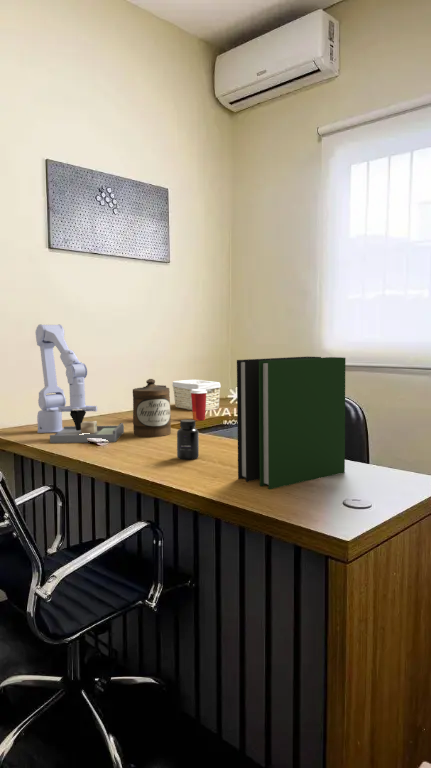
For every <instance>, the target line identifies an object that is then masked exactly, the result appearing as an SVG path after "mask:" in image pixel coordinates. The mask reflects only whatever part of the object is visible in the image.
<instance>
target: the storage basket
mask: <svg viewBox="0 0 431 768" xmlns="http://www.w3.org/2000/svg"><path fill="white" fill-rule="evenodd" d="M171 385H172V388H173V395H174V396H173V397H174V406H175V408H178V409H179V408H180V409H184V410H189V411H192V399H191V393H190V392H191V390H193V389H206V392H207V393H206V411H213V410H218V409H219V408H220V396H221V395H220V390H221V387H222V386H221V382H218V381H210V380H205V379H195V378H194V379H186V380H184V379H183V380H173V381H172V384H171Z"/></svg>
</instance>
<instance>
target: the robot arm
mask: <svg viewBox="0 0 431 768" xmlns="http://www.w3.org/2000/svg"><path fill="white" fill-rule="evenodd" d="M35 339H36V345H37V346H38V347H39V349H40V350H39V351H40V359H41V367H42V374H43V375H42V376H43V384H44V386H43V388H41V390H40V391H39V392H38V400H37V401H38V407H39V408H40V409H41V410H39V411H38V412H37V417H36V418H37V434H38V433H39V434H41V433H42V434H44V433H46V434H47V433H49V434H50V433H51V434H52V433H53V434H56V433H58V432H60V431H61V430H63V429H64V427H63V412H64V413H67V412H69V416H70V417H71V418H72V421H73V424H74V426H75V427H76V431H78V430H81V423H82V422H84V417H86V416H85V415H86V414H87V412H97V411H98V406H97V405H86V391H85V389H86V387H85V386H86V385H85V378H87V375H88V368H87V365H86V364H85V363H83V362H82V361H80V360H79V358H78V357H77V354H75V352H74V350H72V349H69V348H70V347H69V346H68V343H67V341H66V339H65V329H64V327H63V325H62V324H38V325H37V326H36V329H35ZM55 347H56V349H57V350H58V352H59V353H60V354H59V358H60V361H61V362H62V364H63V365H64V367H65V376H66V378H67V384H68V386H69V390H68V391H69V406H66V404H67V400H66V399H67V398H66V396H65V392H64V389H62V387H60V386H58V379H57V371H56V364H55V355H54V353H55V352H54V348H55Z"/></svg>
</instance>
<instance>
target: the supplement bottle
mask: <svg viewBox="0 0 431 768" xmlns="http://www.w3.org/2000/svg"><path fill="white" fill-rule="evenodd" d="M179 422H180V423H179V427H180V428H178V430H177V432H176V457H177V458H178V459H179V460H183V461H191V460H197V459H198V458H199V447H200V446H199V438H200V437H199V435H200V434H199V430H198V429H197V428H196V425H197V424H196V421H195V420H193V419H181V420H180V421H179Z"/></svg>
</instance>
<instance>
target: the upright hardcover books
mask: <svg viewBox="0 0 431 768" xmlns="http://www.w3.org/2000/svg"><path fill="white" fill-rule="evenodd" d="M236 400H237V401H236V402H237V403H236V405H237V407H236V408H237V409H236V411H237V413H236V414H237V418H236V419H237V479H238V480H240V479H245V482H246V483H247V482H252V481H253V482H254V481H256V480H257V481H258V480H259V487H264V486H268V490H273V489H277V488H281V487H282V488H283V487H285V486H290V485H294V484H295V485H296V484H299V483H304V482H309V481H314V480H317V479H318V480H319V479H321V478H326V477H331V476H336V475H340V474H345V472H346V471H345V470H346V468H345V467H346V466H345V465H346V464H345V463H346V461H345V459H346V458H345V457H346V357H335V356H334V357H333V356H329V357H328V356H326V357H322V356H292V357H291V356H290V357H275V358H273V357H270V358H252V359H251V358H249V359H248V358H247V359H236Z"/></svg>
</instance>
